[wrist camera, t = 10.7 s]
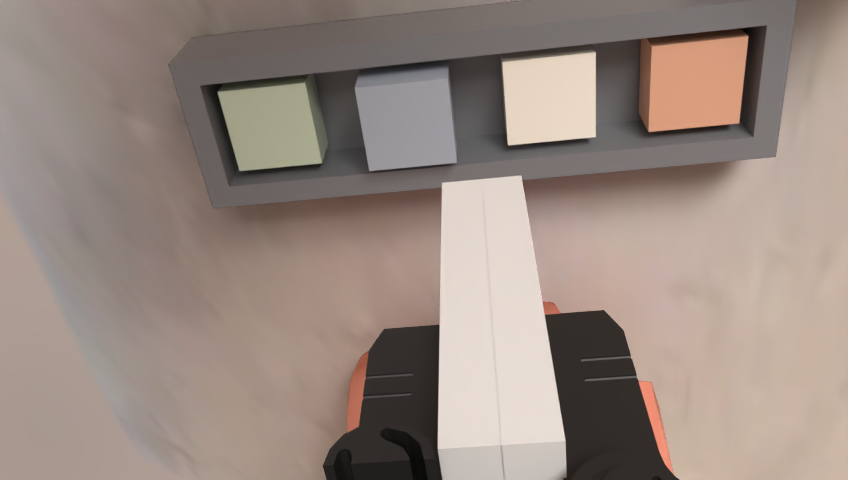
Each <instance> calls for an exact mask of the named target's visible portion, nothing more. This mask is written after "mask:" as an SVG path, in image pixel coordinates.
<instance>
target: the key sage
mask: <svg viewBox="0 0 848 480" xmlns="http://www.w3.org/2000/svg"><path fill="white" fill-rule="evenodd" d="M218 96H219V99H220V103H221V106H222V110H223V114H224V117H225V121H226V124H227V128H228V132H229V135H230V139H231V142H232V146H233V150H234V153H235V157H236V160H237V164H238V167H239V171H247V170H257V169H268V168H278V167H289V166H299V165H310V164H320V163H322V162H323V159H324V155H325V152H326V149H327V146H328V140H327V135H326V130H325V125H324V120H323V115H322V110H321V105H320V101H319V96H318V91H317V86H316V81H315V76H314V74H304V75H295V76H285V77H276V78H267V79H257V80H248V81H238V82H229V83H223V85H222V86H221V88H220V89H219V91H218Z"/></svg>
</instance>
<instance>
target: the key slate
mask: <svg viewBox="0 0 848 480" xmlns="http://www.w3.org/2000/svg"><path fill="white" fill-rule="evenodd" d="M355 93H356V99H357V105H358V110H359V116H360V121H361V127H362V133H363V138H364V144H365V150H366V155H367V161H368V167H369V171H376V170H386V169H397V168H408V167H418V166H429V165H439V164H450V163H457V140H456V131H455V122H454V112H453V103H452V94H451V84H450V75H449V65H448V61H440V62H430V63H421V64H411V65H402V66H392V67H383V68H374V69H364V70H359V74H358V78H357V81H356V85H355Z"/></svg>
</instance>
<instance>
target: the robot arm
mask: <svg viewBox="0 0 848 480" xmlns="http://www.w3.org/2000/svg"><path fill="white" fill-rule="evenodd" d="M323 468H324V471H325V475H326V479H327V480H679V479H678V478H676V477H675V476H674V475H673V473H672V472H671V471H670V470H669V469H668V467H667V466H666V465H665V463H664V461H663V459H662V456H661V454H660V452H659V449H658V445H657V442H656V439H655V435H654V432H653V429H652V425H651V422H650V418H649V415H648V412H647V408H646V405H645V401H644V398H643V395H642V391H641V388H640V385H639V381H638V379H637V376H636V371H635V368H634V364H633V361H632V359H631V354H630V351H629V347H628V344H627V341H626V337H625V334H624V331H623V329H622V328H621V327H620V326H619V325H618V324H617V323H616V322H615V321H614V320H613V319H612V318H611V317H610V316H609V315H608V314H607V313H606V312H605V311H604V310H600V311H587V312H574V313H561V314H548V315H545V314H544V308H543V302H542V296H541V290H540V284H539V278H538V272H537V266H536V260H535V254H534V248H533V242H532V236H531V230H530V224H529V218H528V212H527V206H526V200H525V194H524V188H523V182H522V176H510V177H499V178H488V179H477V180H467V181H456V182H445V183H442V218H441V277H440V325H430V326H417V327H404V328H391V329H384V330H383V331H382V333H381V334H380V336H379V337H378V339H377V340H376V341H375V343H374V344H373V346H372V347H371V349H370V350H369V353H368V360H367V368H366V380H365V383H364V390H363V400H362V406H361V413H360V421H359V427H357V428H355V429H353V430H352V431H350V432H348V433H346V434H344V435H343V436H342V437H341V438H340V439H339V440H338V441H337V442H336V443H335V444H334V445H333V446H332V447H331V448H330V450H329V452H328V455H327V457H326V459H325V462H324V464H323Z"/></svg>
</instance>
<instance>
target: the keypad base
mask: <svg viewBox="0 0 848 480" xmlns="http://www.w3.org/2000/svg"><path fill="white" fill-rule="evenodd" d="M796 7H797V0H523V1H514V2H505V3H496V4H487V5H478V6H469V7H460V8H451V9H442V10H433V11H424V12H415V13H406V14H398V15H389V16H380V17H371V18H362V19H353V20H344V21H335V22H326V23H317V24H308V25H299V26H290V27H282V28H273V29H264V30H255V31H246V32H237V33H228V34H219V35H210V36H201V37H192V38H191V39H190V40H189V41H188V43H187V44H186V45H185V46H184V47H183V48H182V49H181V51H180V52H179V53H178V54H177V55H176V56H175V58H174V59H173V60H172V61H171V62H170V63H169V64H168V65H169V68H170V71H171V74H172V78H173V81H174V84H175V87H176V91H177V94H178V97H179V100H180V104H181V107H182V110H183V113H184V116H185V120H186V123H187V126H188V129H189V133H190V136H191V139H192V142H193V146H194V149H195V152H196V155H197V159H198V162H199V165H200V168H201V172H202V175H203V178H204V181H205V185H206V188H207V191H208V194H209V197H210V201H211V204H212V207H213V209H214V208H224V207H235V206H246V205H257V204H268V203H279V202H290V201H301V200H312V199H322V198H333V197H344V196H355V195H366V194H377V193H388V192H399V191H410V190H421V189H431V188H442V183H445V182H456V181H467V180H477V179H488V178H499V177H510V176H522V180H530V179H540V178H551V177H562V176H573V175H584V174H595V173H606V172H617V171H628V170H639V169H649V168H660V167H671V166H682V165H693V164H704V163H715V162H726V161H737V160H748V159H758V158H769V157H776V152H777V144H778V137H779V130H780V123H781V115H782V108H783V101H784V94H785V87H786V79H787V72H788V65H789V58H790V51H791V43H792V36H793V29H794V22H795V15H796ZM737 28H741V29H742V30H743V31H744V32H745V33H746V34H747V35H748V36H749V37H748V46H747V55H746V64H745V74H744V83H743V92H742V102H741V111H740V120H739V123H738V124H727V125H717V126H706V127H696V128H685V129H675V130H664V131H654V132H648V130H647V128H646V126H645V124H644V122H643V120H642V118H641V116H640V114H639V84H640V52H641V39H643V38H652V37H662V36H671V35H681V34H690V33H699V32H709V31H718V30H728V29H737ZM587 44H592V46H593V48H594V50H595V52H596V137H591V138H581V139H570V140H560V141H550V142H539V143H529V144H518V145H508V143H507V136H506V129H505V118H504V103H503V89H502V74H501V60H500V54H502V53H511V52H521V51H530V50H540V49H549V48H558V47H568V46H577V45H587ZM440 61H448V65H449V75H450V84H451V94H452V103H453V112H454V122H455V131H456V140H457V163H450V164H439V165H429V166H418V167H408V168H397V169H386V170H376V171H369V167H368V161H367V155H366V150H365V144H364V138H363V133H362V127H361V121H360V116H359V110H358V105H357V99H356V93H355V85H356V81H357V78H358V74H359V70H364V69H374V68H383V67H392V66H402V65H411V64H421V63H430V62H440ZM304 74H314V76H315V81H316V86H317V91H318V96H319V101H320V105H321V110H322V115H323V120H324V125H325V130H326V135H327V140H328V146H327V149H326V152H325V155H324V159H323V162H322V163H320V164H310V165H299V166H289V167H278V168H268V169H257V170H247V171H239V167H238V164H237V160H236V157H235V153H234V150H233V146H232V142H231V139H230V135H229V132H228V128H227V124H226V121H225V117H224V114H223V110H222V106H221V103H220V99H219V96H218V91H219V89H220V88H221V86H222V85H223V83H229V82H238V81H248V80H257V79H267V78H276V77H285V76H295V75H304Z"/></svg>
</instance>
